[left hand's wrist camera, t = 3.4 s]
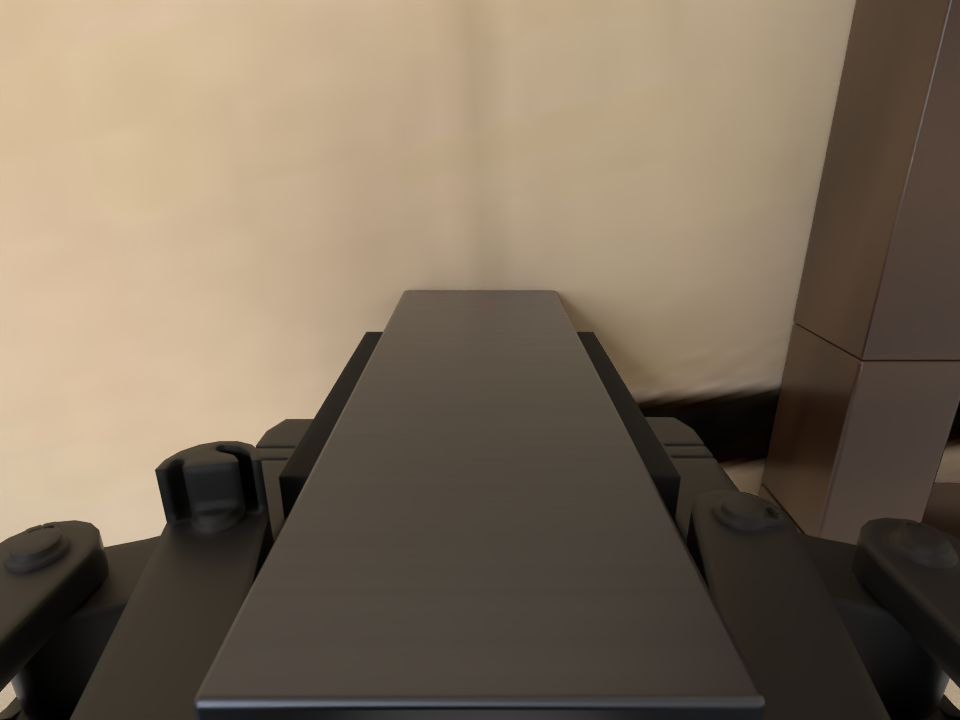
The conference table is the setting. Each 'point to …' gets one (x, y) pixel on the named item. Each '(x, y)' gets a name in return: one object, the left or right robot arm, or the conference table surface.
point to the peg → (479, 547)
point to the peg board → (879, 289)
